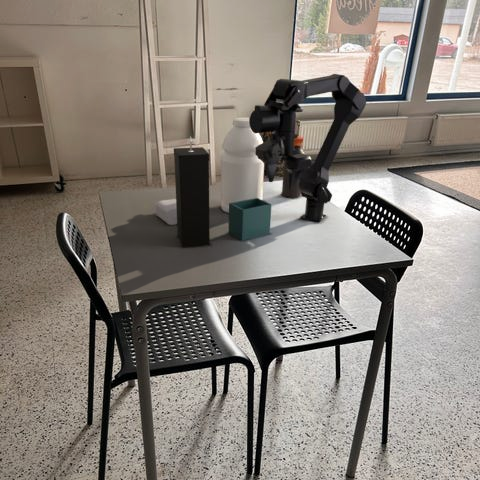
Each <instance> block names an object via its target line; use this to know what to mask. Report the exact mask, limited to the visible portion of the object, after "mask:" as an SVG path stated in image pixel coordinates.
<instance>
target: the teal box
mask: <svg viewBox="0 0 480 480" xmlns="http://www.w3.org/2000/svg"><path fill="white" fill-rule="evenodd" d="M271 218H272V203H270V202H268V201H266V200H263V199H262V200H261V199H259V198H253V199H248V200H243V201H238V202H233V203H229V213H228V234H230V235H232V236H233V237H235V238H237V239H238V240H240V241H242V242H243V241H245V240H246V241H247V240H250V239H255V238H259V237H263V236H267V235H270V234H271V233H270V232H271V220H272V219H271Z"/></svg>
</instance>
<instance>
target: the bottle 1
mask: <svg viewBox="0 0 480 480" xmlns="http://www.w3.org/2000/svg"><path fill="white" fill-rule="evenodd" d="M249 118H250V117H244V116H242V117H234V118H233V119H232V126H233V127H232V128H231V129H230V130H229V131H228V132H227V134H226V135H225V137H224V139H223V142H222V145H221V148H222V150H223V151H224V153H223V154H222V155H221V157H220V203H219V204H220V208H221V210H222V211H223V212H225V213H228V214H229V203H233V202H238V201H243V200H248V199H253V198H259V199H261V200H263V190H264V175H265V172H264V171H265V165H264V163H263V162H262V161H261V160H260V159H258V157H257V156H256V155H255V154H256V149H255V148H256V147H257V146H258V145H260V144H262V143H264V141H263V139H262V136H261V134H260V133H254V132H253V131H252V130H251V128H250V124H249Z"/></svg>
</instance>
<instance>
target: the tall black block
mask: <svg viewBox="0 0 480 480" xmlns="http://www.w3.org/2000/svg"><path fill="white" fill-rule="evenodd" d="M173 158H174V159H173V160H174V182H175V183H174V184H175V199H176V208H177V224H176V227H177V231H176V232H177V238H178V240H179V243H180V245H181V248H189V247H202V246H209V245H211V243H210V239H211V238H210V234H211V233H210V153H209V152H208V151H207V150H206V149H205V148H204V147H202V146H201V147H199V146H198V147H197V146H196V147H193V138H192V136H189V147H174V148H173Z"/></svg>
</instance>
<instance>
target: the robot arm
mask: <svg viewBox="0 0 480 480" xmlns="http://www.w3.org/2000/svg"><path fill="white" fill-rule="evenodd" d="M327 93H331V98H332V99H333V101H334V102H335V103H334V107H333V120H332V122H331V125H330V127H329V129H328V131H327V134H326V136H325V138H324V140H323V142H322V145H321V146H320V149H319V151H318V154H317V156H316V158H315V160H314V162H313V161H312V160H313V159H312V158H311V156H310V155H307V154H305V153H304V154H305V155H304V154H297V155H292V154H295V153H296V149H293V147H294V139H295V138H297V137H298V136H299V134H297V133H296V123H297V113H302V112H304V110H303V108H302V107H301V106H300V104H299V103H302V102H304V101H305V100H306V99H307V98H309V97H312V96H317V95H322V94H327ZM366 100H367V99H366V95H365V94H364V93H363V92H361V90H360V89H359V88H358V87H357V86H356V85H355V84H353V83H352V82H351V81H350V79H349V78H348V77H347V76H346V75H345V74H340V73H339V74H338V73H333V74H329V75H325V76H320V77H313V78H307V79H303V80H302V79H301V80H299V79H289V78H279V79H277V80H276V81H275V83H274V85H273V88H272V90H271V92H270V94H269V95H268V97H267V99H266V100H265V102H264V104H263V105H260V104H255V105H254V110H252V112H251V114H250V115H249V116H250V117H248V118H249V124H250V128H251V130H252V131H253V132H254V133H259V134H262V133H263V134H264V133H270V135H269V139H268V140H266V141H263V143H262V144H260V145H258V146H257V147H256V148H255V149H256V154H255V155H256V156H257V157H258V159H260V160H261V161H262V162H263V163H264V169H265V171H266V175H267V179H268V182H269V183H273V182H274V179H275V176H276V172H277V169H278V168H277V167H278V163H279V159H280V160H283V161H284V160H286V161H287V162H286V163H287V166H288V167H286V169H287V170H288V172H289V190H293V188H294V186H295V185H296V183H297V181H298V179H299V180H300V181H299V185H298V186H299V189H300V192H301V195H300V197H302V198H305V199H306V201H305V210H304V214H302V216H300V219H301V220H307V221H311V222H316V223H321V222H322V221H323V220H324V219H325V218H326V217H327V214H324V208H325V204H328V203H330V202H331V200H332V198H333V194H332V192H331V191H330V190H329V188H328V185H329V182H330V175H329V173H330V172H329V171H330V169H331V166H332V164H333V161H334V160H335V158H336V155H337V153H338V152H339V149H340V147H341V145H342V142H343V140H344V138H345V137H346V134H347V132H348V129H349V127H350V126H351V125H352V124H353V123H354V122H355V121H357V120H358V119H359V118H360V116H361V114H362V112H363V111H364V110H365V108H366V106H367V101H366ZM285 156H286V157H285ZM312 162H313V164H312ZM300 176H301V177H300Z"/></svg>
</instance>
